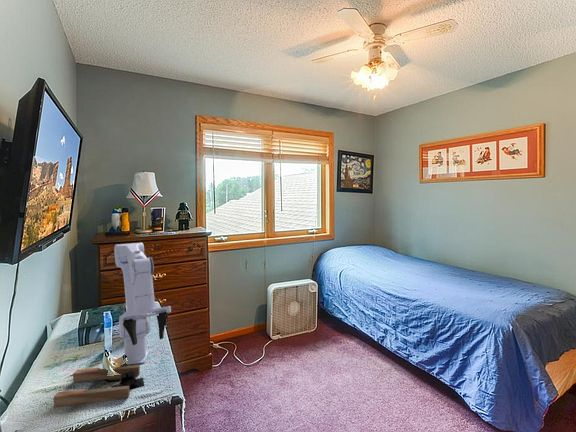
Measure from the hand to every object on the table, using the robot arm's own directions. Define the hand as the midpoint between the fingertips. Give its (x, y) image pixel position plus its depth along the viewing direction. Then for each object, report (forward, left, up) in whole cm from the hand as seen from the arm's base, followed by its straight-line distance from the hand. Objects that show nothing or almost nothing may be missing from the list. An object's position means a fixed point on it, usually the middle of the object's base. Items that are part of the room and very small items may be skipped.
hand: (148, 341), depth 94 cm
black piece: (-7, -8, -18) cm, 21 cm away
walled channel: (-7, -16, -17) cm, 25 cm away
